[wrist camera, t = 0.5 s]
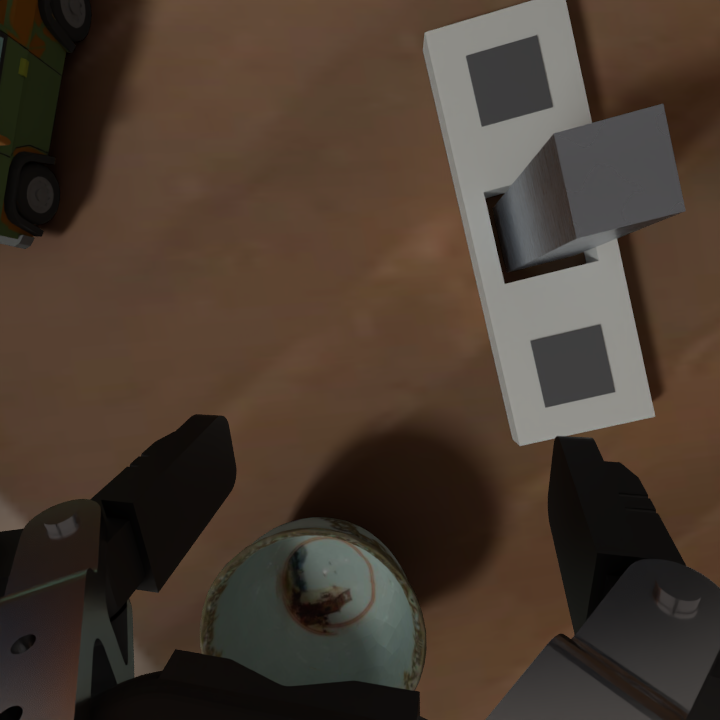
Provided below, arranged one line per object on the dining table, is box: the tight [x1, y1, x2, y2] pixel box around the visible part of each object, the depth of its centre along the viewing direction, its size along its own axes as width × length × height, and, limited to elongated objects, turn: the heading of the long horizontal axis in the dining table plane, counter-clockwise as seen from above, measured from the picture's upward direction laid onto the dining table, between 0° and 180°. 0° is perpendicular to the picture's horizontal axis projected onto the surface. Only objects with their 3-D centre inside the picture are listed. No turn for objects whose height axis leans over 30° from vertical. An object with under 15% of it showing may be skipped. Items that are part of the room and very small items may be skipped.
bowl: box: [200, 517, 426, 691], centre depth 32 cm, size 14×13×8 cm
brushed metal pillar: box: [492, 104, 685, 273], centre depth 27 cm, size 5×5×13 cm
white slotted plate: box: [423, 0, 655, 446], centre depth 32 cm, size 28×9×2 cm, turn 14°
